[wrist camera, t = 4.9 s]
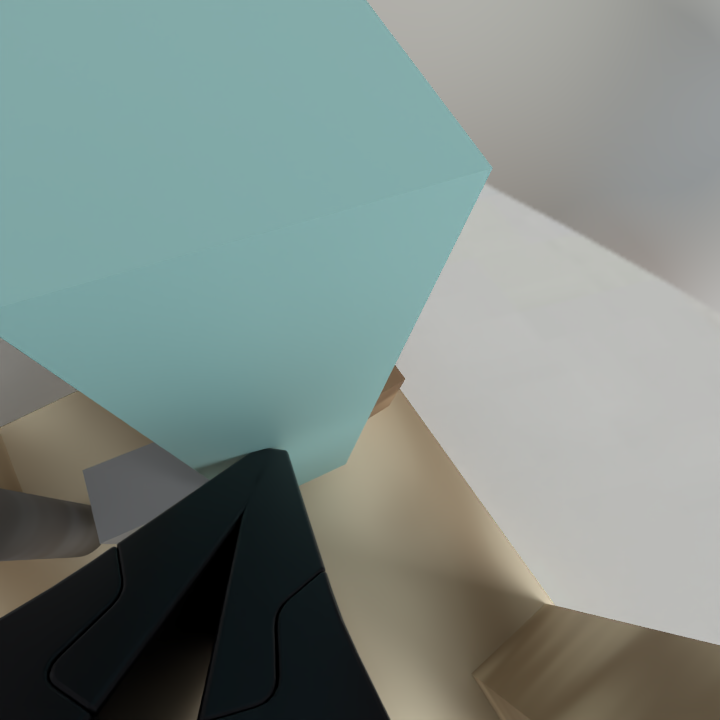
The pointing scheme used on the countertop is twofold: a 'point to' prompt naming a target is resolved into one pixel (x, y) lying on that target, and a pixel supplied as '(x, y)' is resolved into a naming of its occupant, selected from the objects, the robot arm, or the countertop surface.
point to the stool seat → (384, 577)
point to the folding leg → (219, 225)
